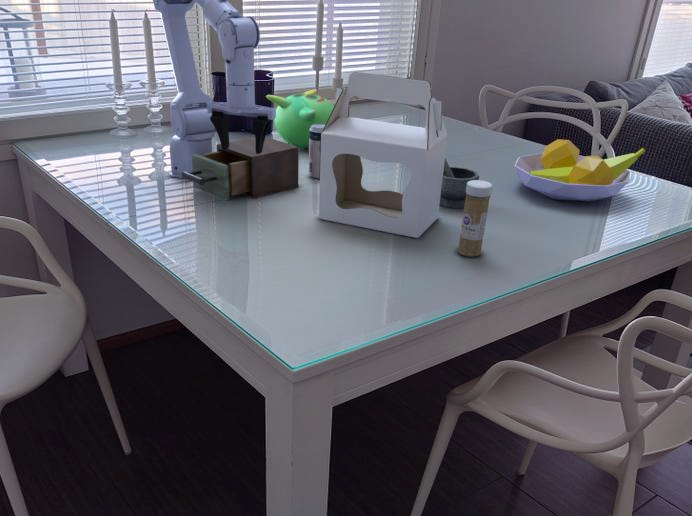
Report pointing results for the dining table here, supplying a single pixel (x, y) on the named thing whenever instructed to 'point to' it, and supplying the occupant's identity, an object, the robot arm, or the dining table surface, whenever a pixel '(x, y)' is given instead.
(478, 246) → the sprinkles bottle
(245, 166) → the green-fronted drawer
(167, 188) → the dining table surface
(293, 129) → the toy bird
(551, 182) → the fruit bowl
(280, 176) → the cabinet
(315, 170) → the spice jar
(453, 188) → the mortar and pestle
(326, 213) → the gable box
